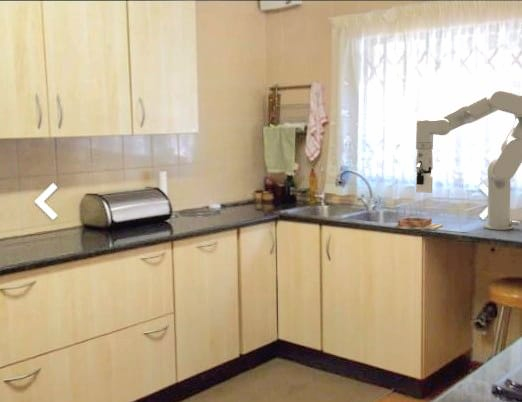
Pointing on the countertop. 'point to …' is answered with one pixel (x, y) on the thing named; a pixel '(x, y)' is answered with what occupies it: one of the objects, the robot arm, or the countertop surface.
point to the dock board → (417, 224)
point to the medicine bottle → (425, 183)
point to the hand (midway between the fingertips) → (423, 183)
